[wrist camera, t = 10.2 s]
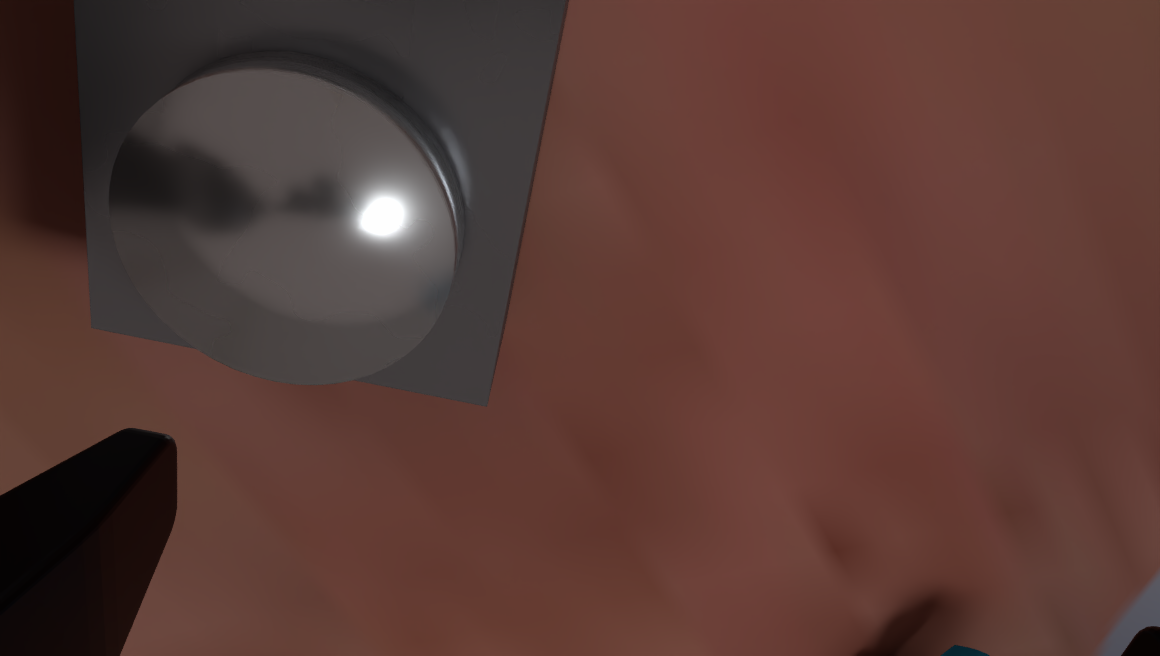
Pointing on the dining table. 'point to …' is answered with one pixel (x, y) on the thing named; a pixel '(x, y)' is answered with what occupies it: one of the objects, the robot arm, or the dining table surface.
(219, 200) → the block
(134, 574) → the robot arm
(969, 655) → the gear
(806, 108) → the dining table surface
